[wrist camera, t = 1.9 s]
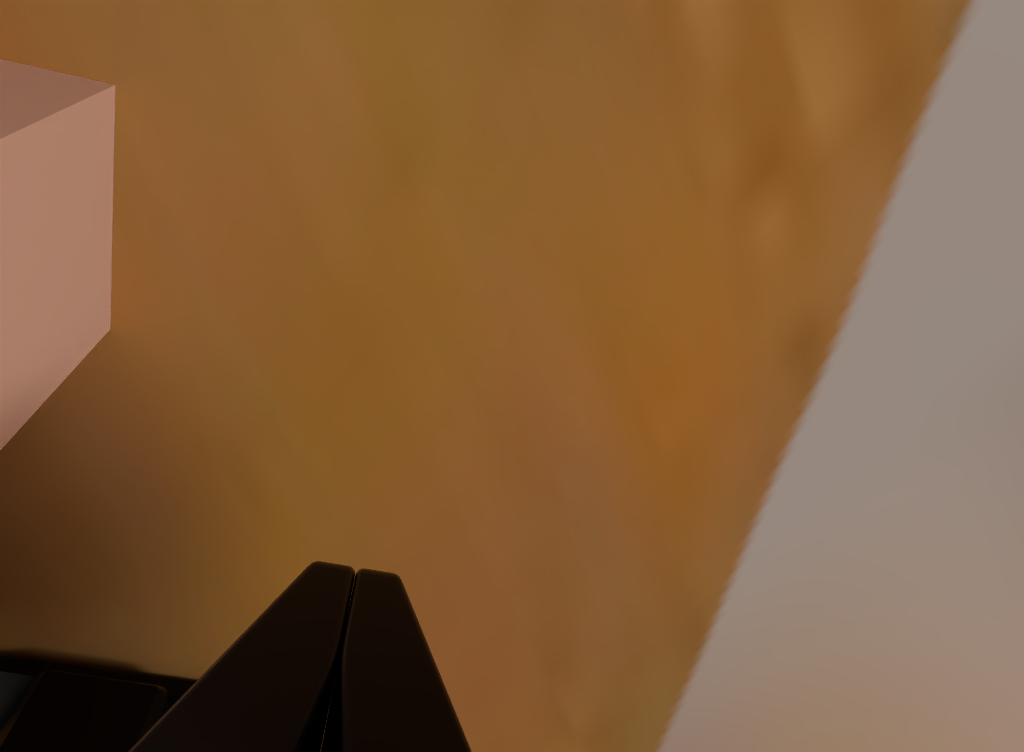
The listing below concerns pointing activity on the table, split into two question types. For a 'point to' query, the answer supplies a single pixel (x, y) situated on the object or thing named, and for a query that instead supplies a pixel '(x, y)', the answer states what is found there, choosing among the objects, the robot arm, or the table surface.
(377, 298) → the table surface
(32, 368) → the block
